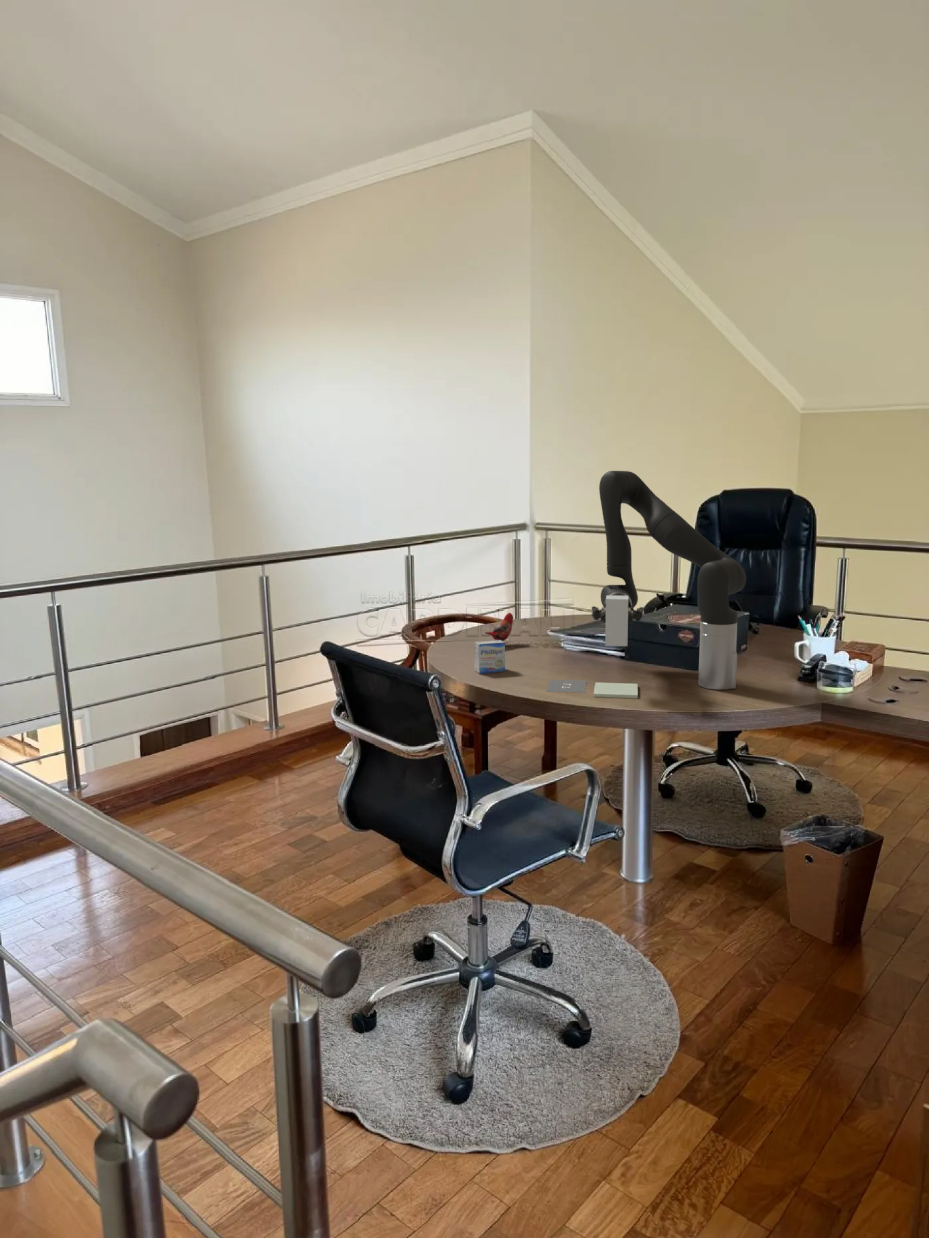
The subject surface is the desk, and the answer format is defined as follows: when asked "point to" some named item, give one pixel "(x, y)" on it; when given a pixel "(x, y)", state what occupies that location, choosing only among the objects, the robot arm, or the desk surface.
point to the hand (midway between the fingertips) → (616, 618)
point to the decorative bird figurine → (503, 628)
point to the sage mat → (616, 690)
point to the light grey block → (616, 621)
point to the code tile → (566, 686)
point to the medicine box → (489, 656)
